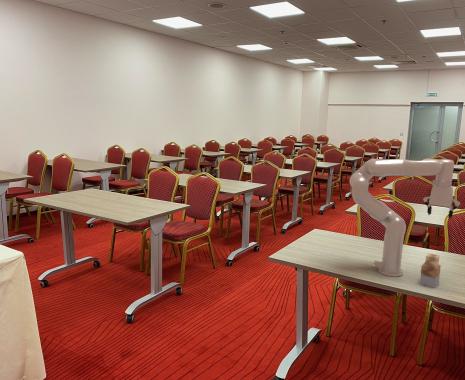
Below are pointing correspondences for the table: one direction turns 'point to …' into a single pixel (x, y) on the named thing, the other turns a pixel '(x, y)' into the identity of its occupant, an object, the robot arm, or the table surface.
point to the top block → (430, 271)
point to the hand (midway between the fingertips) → (439, 216)
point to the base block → (429, 281)
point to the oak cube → (432, 260)
